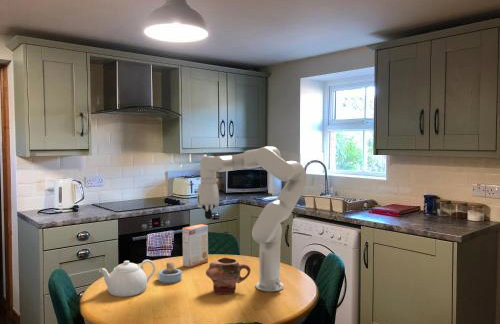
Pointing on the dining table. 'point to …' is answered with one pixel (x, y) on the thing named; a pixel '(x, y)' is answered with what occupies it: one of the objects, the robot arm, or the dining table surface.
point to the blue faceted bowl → (169, 276)
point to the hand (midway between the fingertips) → (208, 218)
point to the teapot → (127, 279)
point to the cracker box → (195, 245)
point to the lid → (170, 268)
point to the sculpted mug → (226, 274)
